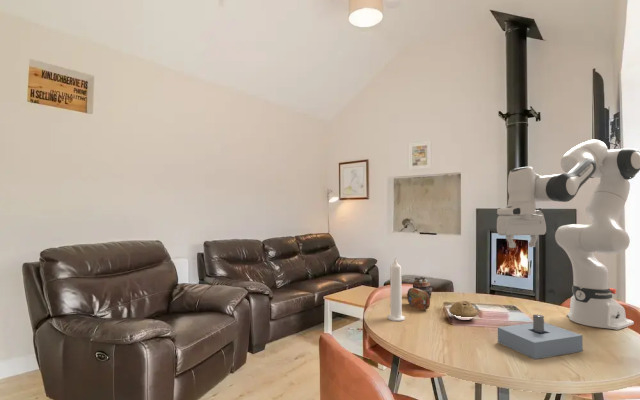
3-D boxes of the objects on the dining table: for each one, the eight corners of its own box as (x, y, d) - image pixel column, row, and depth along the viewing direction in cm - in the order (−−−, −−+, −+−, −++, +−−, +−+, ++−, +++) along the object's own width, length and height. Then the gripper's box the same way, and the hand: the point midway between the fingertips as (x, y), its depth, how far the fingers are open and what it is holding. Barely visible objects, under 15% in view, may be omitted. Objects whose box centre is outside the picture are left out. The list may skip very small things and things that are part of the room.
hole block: (542, 335, 123) (542, 321, 123) (582, 351, 109) (582, 335, 109) (497, 342, 117) (497, 327, 117) (534, 359, 103) (534, 342, 103)
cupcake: (423, 300, 170) (423, 280, 170) (408, 296, 178) (408, 277, 178) (436, 297, 175) (436, 278, 175) (421, 294, 183) (421, 275, 184)
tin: (406, 303, 165) (406, 286, 165) (412, 303, 166) (412, 285, 166) (425, 312, 150) (425, 293, 150) (431, 312, 151) (431, 292, 151)
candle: (392, 314, 147) (392, 256, 148) (407, 318, 142) (407, 257, 143) (384, 318, 141) (384, 258, 142) (400, 322, 137) (399, 259, 138)
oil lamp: (477, 314, 147) (477, 296, 147) (478, 325, 134) (477, 304, 134) (450, 311, 152) (450, 293, 152) (448, 321, 138) (447, 301, 138)
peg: (538, 344, 115) (537, 314, 115) (546, 347, 112) (546, 316, 112) (531, 345, 114) (530, 315, 114) (539, 348, 111) (539, 317, 111)
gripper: (535, 210, 134) (536, 245, 133) (493, 210, 128) (493, 247, 127) (550, 210, 128) (551, 247, 127) (507, 210, 122) (507, 249, 121)
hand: (522, 247), depth 127 cm, fingers open, 8 cm apart
